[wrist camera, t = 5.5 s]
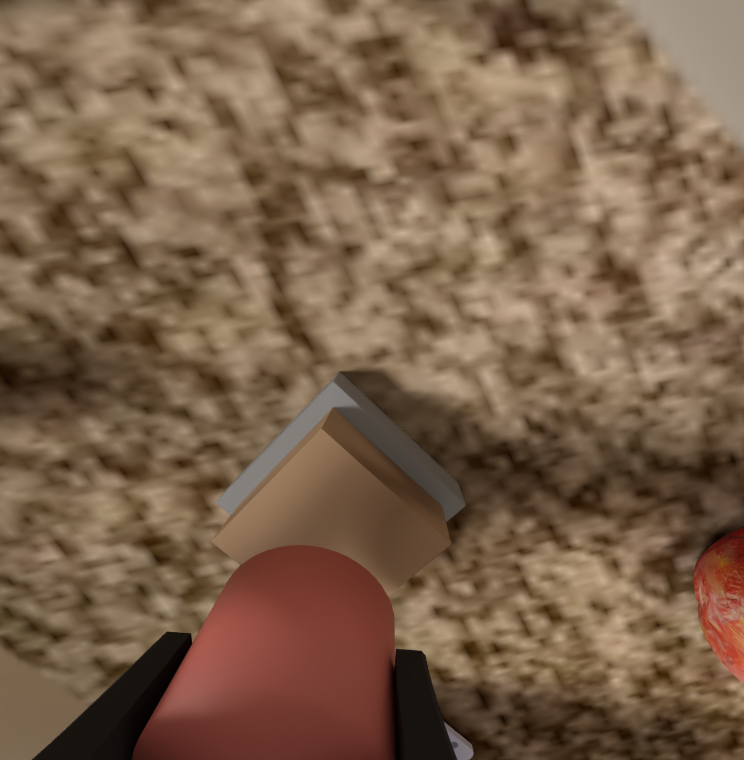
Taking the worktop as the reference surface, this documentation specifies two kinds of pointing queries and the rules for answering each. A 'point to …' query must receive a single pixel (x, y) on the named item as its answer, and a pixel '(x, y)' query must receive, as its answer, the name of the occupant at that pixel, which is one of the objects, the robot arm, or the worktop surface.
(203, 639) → the red rounded block
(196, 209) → the worktop surface
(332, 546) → the tower top block
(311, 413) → the tower base block
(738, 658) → the red apple
